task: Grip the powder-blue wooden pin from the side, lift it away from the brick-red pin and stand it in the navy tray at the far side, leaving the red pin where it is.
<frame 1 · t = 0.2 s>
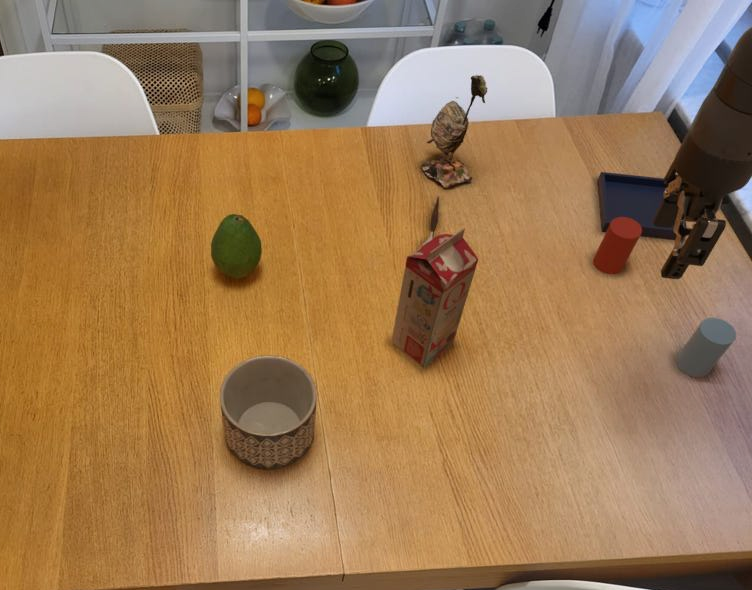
hand: (665, 250, 89), 27 cm above the table, tool pointing down, fingers open, 8 cm apart
blue pin: (692, 364, 112), on the table
blue tray: (638, 209, 131), on the table
planter: (269, 435, 107), on the table
red pin: (608, 263, 124), on the table
fruit: (237, 271, 125), on the table
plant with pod: (443, 170, 138), on the table
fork: (432, 230, 129), on the table
juice carton: (421, 344, 115), on the table
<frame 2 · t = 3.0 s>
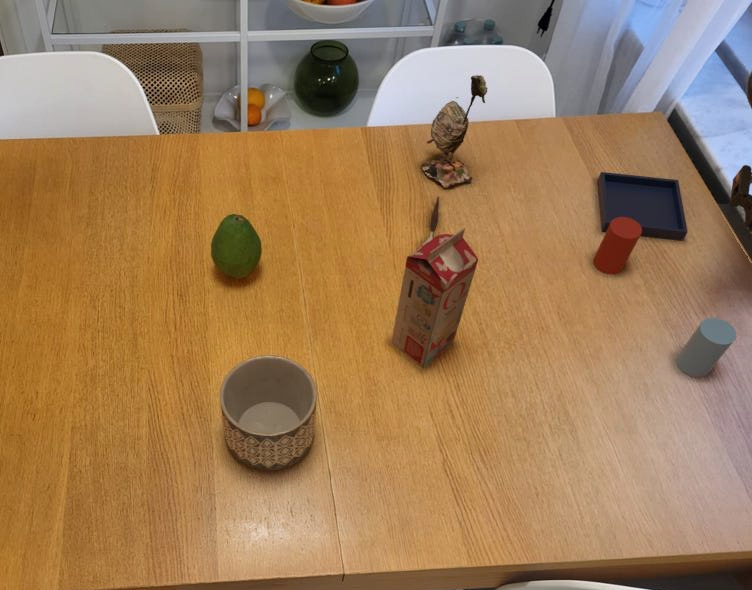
nothing on the table moved.
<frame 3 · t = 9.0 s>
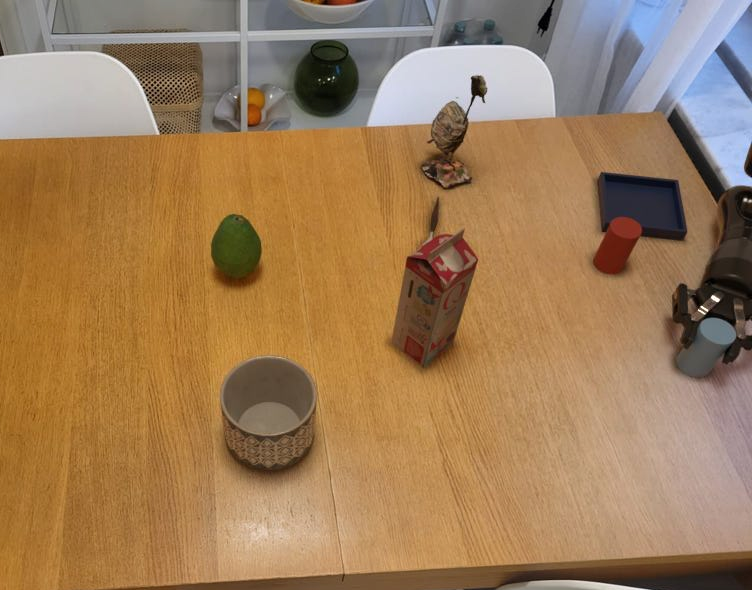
hand: (707, 352, 106), 6 cm above the table, tool horizontal, fingers closed on blue pin, 4 cm apart
blue pin: (692, 364, 112), on the table, touching gripper
everything else where it was.
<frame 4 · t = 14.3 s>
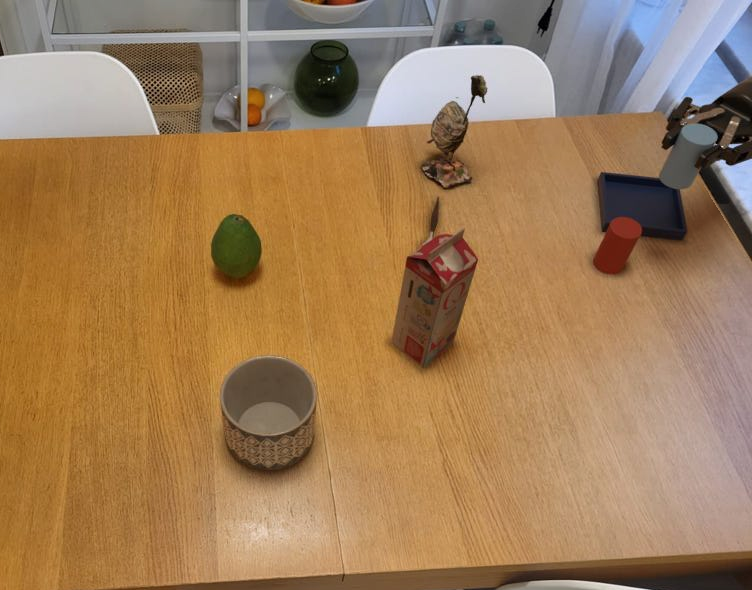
hand: (682, 153, 107), 22 cm above the table, tool horizontal, fingers closed on blue pin, 4 cm apart
blue pin: (675, 178, 113), point 16 cm above the table, touching gripper
everything else where it was.
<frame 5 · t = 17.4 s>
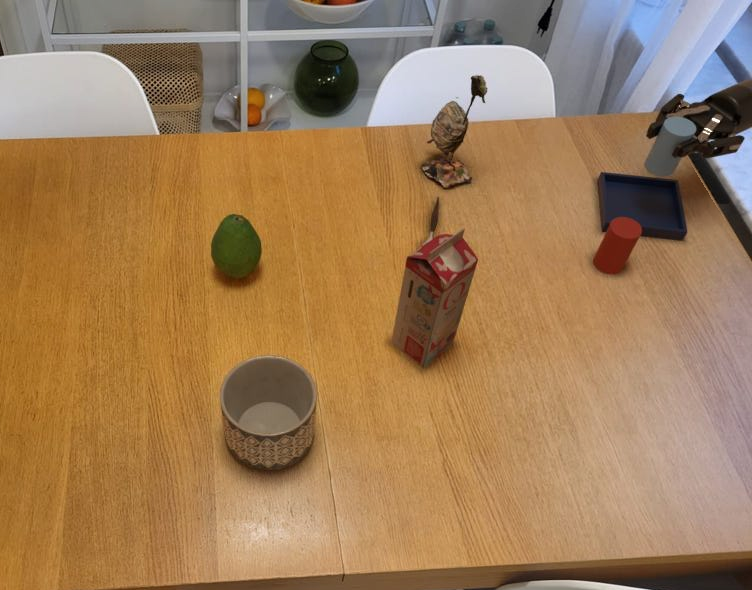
hand: (662, 142, 118), 15 cm above the table, tool horizontal, fingers closed on blue pin, 4 cm apart
blue pin: (659, 167, 124), point 9 cm above the table, touching gripper
everything else where it was.
when the fingers open (7 cm above the table, at t = 19.9 s): blue pin stays where it is, resting on blue tray.
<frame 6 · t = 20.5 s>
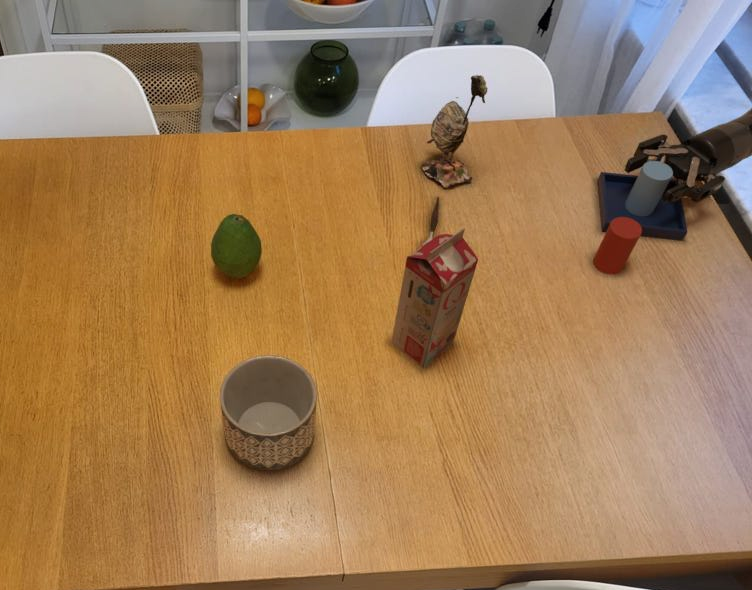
hand: (646, 182, 125), 7 cm above the table, tool horizontal, fingers open, 8 cm apart
blue pin: (639, 207, 131), resting on blue tray
everything else where it was.
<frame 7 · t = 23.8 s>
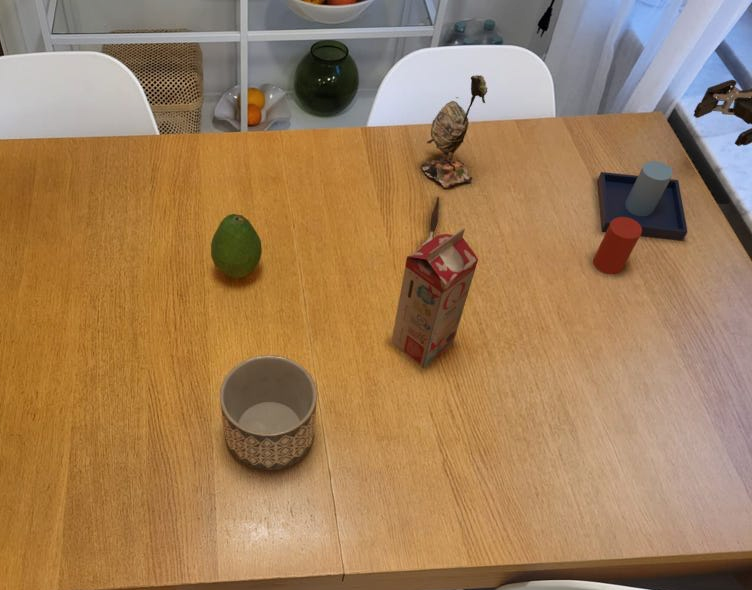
hand: (717, 125, 122), 14 cm above the table, tool horizontal, fingers open, 8 cm apart
nothing on the table moved.
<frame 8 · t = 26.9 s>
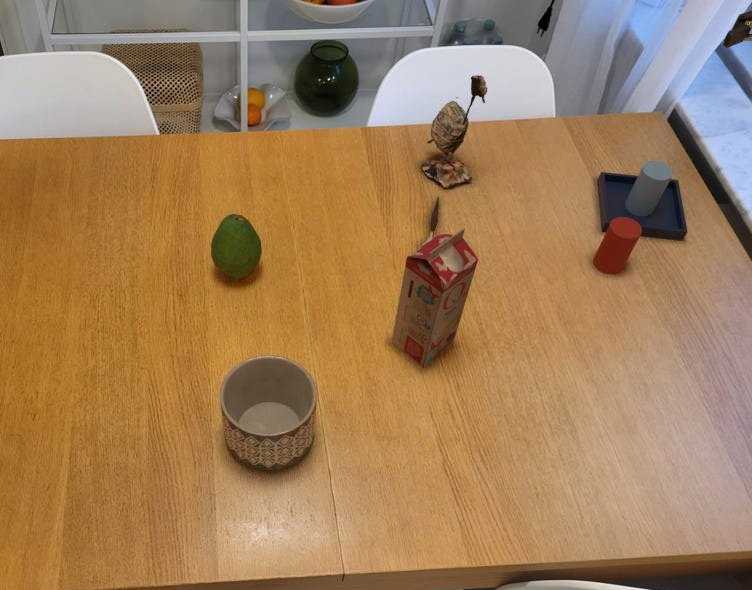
hand: (750, 55, 109), 28 cm above the table, tool horizontal, fingers open, 8 cm apart
nothing on the table moved.
at the end: blue pin inside the target area in the blue tray (0.1 cm from its centre), point 0.5 cm above the blue tray's base; blue pin tilted 0°; red pin moved 0.0 cm from its start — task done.
